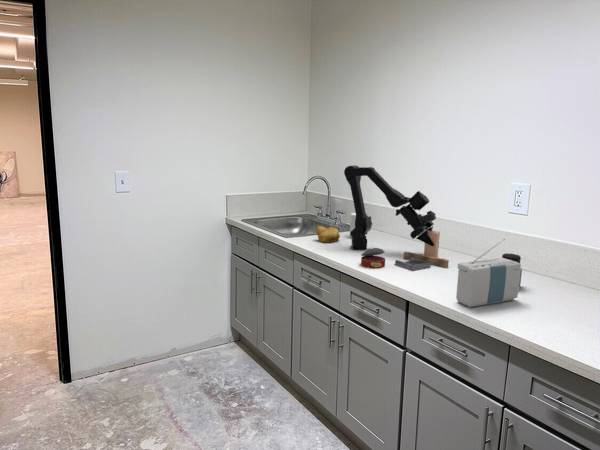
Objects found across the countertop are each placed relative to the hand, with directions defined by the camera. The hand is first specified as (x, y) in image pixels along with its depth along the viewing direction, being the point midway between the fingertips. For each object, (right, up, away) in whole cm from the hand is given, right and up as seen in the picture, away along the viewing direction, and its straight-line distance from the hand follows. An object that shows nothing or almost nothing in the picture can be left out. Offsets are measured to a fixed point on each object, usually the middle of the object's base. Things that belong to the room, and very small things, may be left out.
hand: (435, 244), depth 206 cm
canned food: (-29, -8, -10) cm, 32 cm away
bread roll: (-44, 0, +33) cm, 55 cm away
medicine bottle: (+17, -14, -35) cm, 41 cm away
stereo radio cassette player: (+2, -17, -51) cm, 54 cm away
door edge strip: (-6, -8, -5) cm, 11 cm away
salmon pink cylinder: (-1, -6, +2) cm, 7 cm away
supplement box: (-29, +2, +42) cm, 51 cm away
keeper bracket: (-13, -8, -11) cm, 19 cm away
